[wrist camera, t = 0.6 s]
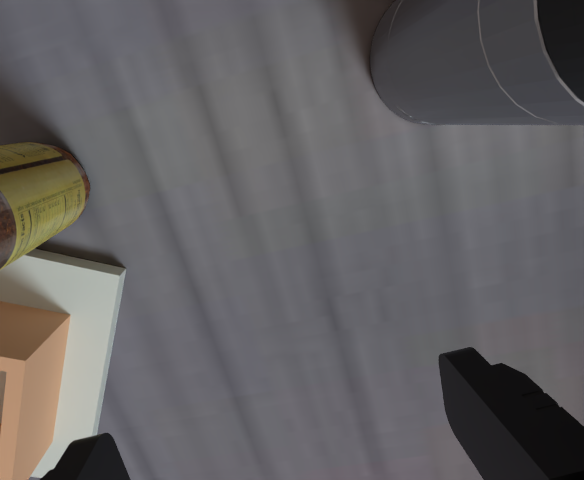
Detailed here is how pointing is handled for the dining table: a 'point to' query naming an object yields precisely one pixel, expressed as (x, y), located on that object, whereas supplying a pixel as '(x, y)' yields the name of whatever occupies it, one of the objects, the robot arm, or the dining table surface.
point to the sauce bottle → (37, 196)
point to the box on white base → (53, 356)
